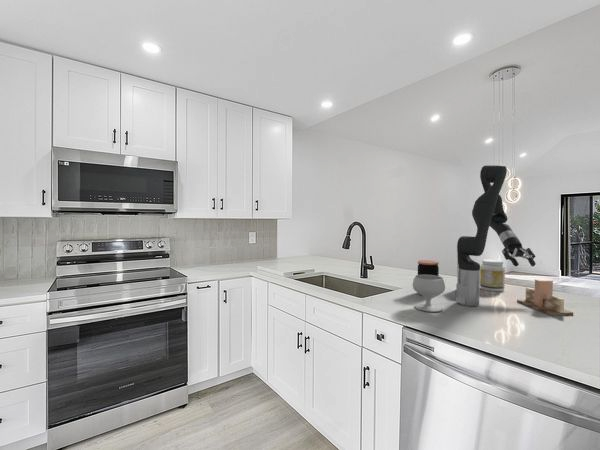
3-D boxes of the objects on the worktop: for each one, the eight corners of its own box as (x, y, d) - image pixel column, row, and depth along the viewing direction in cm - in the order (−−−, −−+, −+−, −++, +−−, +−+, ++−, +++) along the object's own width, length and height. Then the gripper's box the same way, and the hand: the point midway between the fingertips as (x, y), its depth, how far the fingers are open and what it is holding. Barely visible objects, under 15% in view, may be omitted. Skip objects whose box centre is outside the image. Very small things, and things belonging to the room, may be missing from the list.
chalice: (451, 310, 139) (451, 277, 138) (432, 315, 132) (432, 281, 131) (424, 302, 151) (425, 272, 150) (406, 307, 144) (406, 275, 143)
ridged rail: (517, 301, 151) (517, 287, 151) (536, 301, 151) (537, 287, 151) (550, 315, 131) (551, 299, 131) (573, 315, 131) (573, 298, 131)
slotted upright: (534, 304, 143) (534, 279, 142) (546, 304, 143) (547, 279, 143) (539, 306, 140) (540, 281, 139) (552, 306, 140) (552, 280, 140)
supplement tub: (484, 285, 185) (484, 258, 185) (507, 289, 176) (508, 260, 175) (476, 289, 177) (477, 260, 177) (500, 293, 168) (501, 262, 167)
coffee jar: (441, 296, 161) (442, 263, 161) (421, 296, 162) (422, 263, 161) (433, 291, 172) (433, 260, 171) (414, 291, 172) (414, 260, 172)
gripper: (500, 236, 160) (515, 261, 149) (526, 236, 161) (543, 261, 150) (493, 245, 166) (507, 269, 155) (519, 245, 166) (535, 269, 155)
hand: (525, 265), depth 152 cm, fingers open, 8 cm apart
